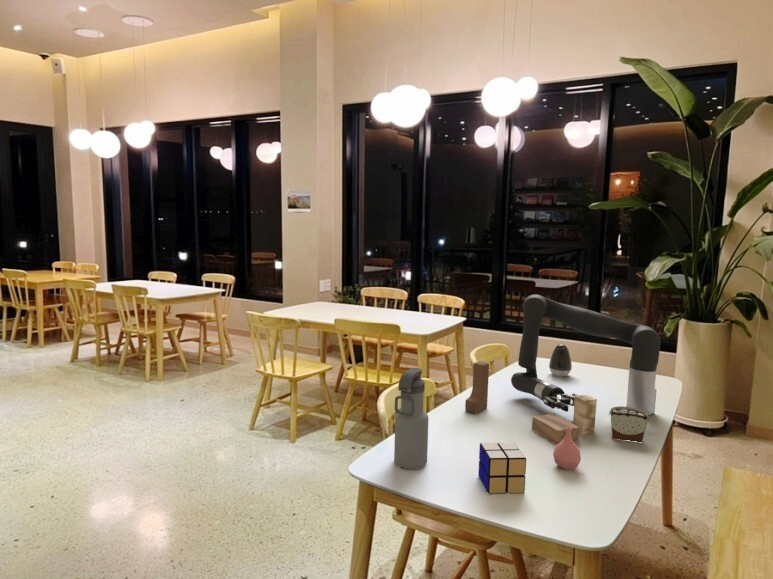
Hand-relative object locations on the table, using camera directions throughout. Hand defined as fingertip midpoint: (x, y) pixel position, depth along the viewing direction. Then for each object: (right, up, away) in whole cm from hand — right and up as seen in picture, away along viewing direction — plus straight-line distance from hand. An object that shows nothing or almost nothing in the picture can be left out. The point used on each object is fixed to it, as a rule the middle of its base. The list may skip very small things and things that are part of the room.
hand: (577, 407), depth 180 cm
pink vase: (-15, -11, -30) cm, 35 cm away
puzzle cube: (-36, -12, -41) cm, 56 cm away
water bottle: (-61, -10, -29) cm, 68 cm away
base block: (-10, -8, -6) cm, 15 cm away
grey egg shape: (+16, +1, +65) cm, 66 cm away
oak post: (+1, -7, -3) cm, 8 cm away
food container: (+13, -9, -8) cm, 18 cm away
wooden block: (-33, -5, +16) cm, 37 cm away
